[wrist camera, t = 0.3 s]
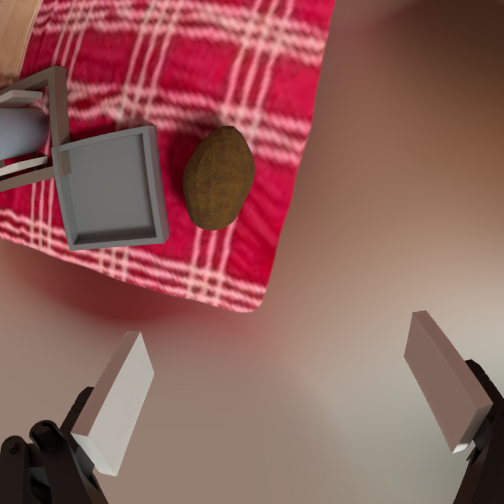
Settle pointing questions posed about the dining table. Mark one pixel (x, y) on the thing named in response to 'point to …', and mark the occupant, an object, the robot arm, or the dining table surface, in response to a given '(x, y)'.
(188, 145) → the dining table surface
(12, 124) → the canister
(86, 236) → the tray
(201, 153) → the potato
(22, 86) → the rack
